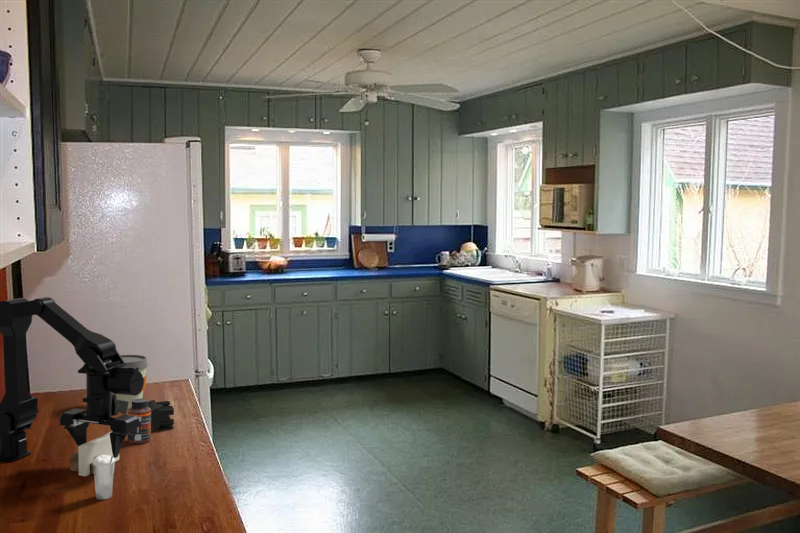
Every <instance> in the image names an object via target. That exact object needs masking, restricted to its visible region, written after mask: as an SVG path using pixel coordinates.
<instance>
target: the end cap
mask: <svg viewBox="0 0 800 533" xmlns="http://www.w3.org/2000/svg"><path fill="white" fill-rule="evenodd" d="M147 403H148V404H147V405H148V407H150V409H151V429H153V430H155V431H157V432H159V431H160V432H163V431H171V430H172V431H173V430H174V424H175V419H174V418H171V417H170V416H174V415H175V408H174V407H173V405H172V404H171V402H170V401H169V400H164V401H156V400H155V399H151V400H149V401H147Z"/></svg>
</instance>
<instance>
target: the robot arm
mask: <svg viewBox="0 0 800 533" xmlns="http://www.w3.org/2000/svg"><path fill="white" fill-rule="evenodd" d="M33 316H38V317H39V318H40V319H41V320H43V321H44V322H45V323H46V325H47V324H48V325H49V326H50V327H51V328H52V329H53V330H55V331H56V332H57V333H58V334H59V335H61V336H62V337H63V338H64V339H65V340H67V341H68V342H69V343H70V344H71V345H72V346H73V348H74V351H75V354H76V356H78V357H79V358H80V360H82V362H83V363H84V364H83V365H82V367H80V368H79V369H78V370H77V373H78V374H82V375H85V377H86V379H85V380H86V381H85V383H86V384H85V386H86V389H85V390H86V392H85V393H86V396H84V397H82V403H85V405H86V409H85V408H72V409H70V410H67V411H64V412H62V413H61V415H60V416H59V425H60V426H64V427H63V429H64V430H67V432H68V433H69V435H70V436H71V438H72V439H73V441H74V442H75V444H76V447H78V446H80V445H82V444H85V443H87V442H88V441H87V438H88V435H87V433H88V432H87V430H88V427H89V425H90V424H92V425H93V424H95V425H101V426H102V425H103V426H109V429H110V430H111V431H110V432H111V433H110V432H108V433H109V434H110V440H111V447H112V453H113V455H114V456H113V457H114V458H116V457H118V455H119V456H120V452H121V450H122V447H123V443H124V441H125V439H126V437H127V436H128V433H129V432H131V431H133V430H134V429H135V428H138V427H139V418H138V417H137V416H134V415H128V409H127V408H128V403H129V402H128V401H122V400H117V399H116V394H123V395H134V396H136V395H138V394H140V392H141V391H142V388H143V385H144V378H143V376H142V374H141V372H139V367H138V366H131V367H129V366H125V365H126V364H125V362H124V360H123V359H122V357H121V356H120V355H121V354H120V353H119V351H118V349H117V344H116V343H115V342H114V341H113V340H111V339H110V338H108V337H106V336H105V335H103V334H100V333H98V332H94V331H92V330H90V329H88V328H87V327H86V326H84V325H83V324H82V323H80V322H79V321H78V320H77V319H76V318H74V317H73V316H72V315H70V313H69V312H67V311H66V310H65V309H63V308H62V307H61V306H60V305H59V304H57V303H56V301H55V299H54V298H52V297H48V296H45V297H40V298H35V299H33V300H28V299H26V298H23V297H19V298H11V299H6V300H0V335H1V336H2V342H3V343H2V345H3V348H2V349H3V350H2V351H3V372H4V374H3V375H4V377H3V378H4V394H3V397H2V398H1V401H0V461H1V462H2V461H3V462H8V463H11V462H14V461H17V460H19V459H22V458H24V457H27V456H28V455H30V454H32V452H31V451H29V450H28V439H27V436H26V435H27V434H26V433H27V432H26V431H27V430H29V429H31V427H32V425H33V422H34V421H35V420H36V419H37V415H38V414H39V412H40V411H39V409H38V402H39V401H38V397H37V396H34V397H33V396H32V395H31V394H30V392H29V389H28V367H27V366H28V362H27V340H26V339H27V337H26V336H27V332H28V330H29V328H30V326H31V324H32V322H33V321H32V320H33ZM109 361H111V363H108V364H106V362H109ZM112 393H114V394H112ZM119 413H121V414H122V415H119ZM117 415H119V416H117ZM113 416H114V417H113ZM115 416H116V417H115ZM25 430H26V431H25ZM112 431H113V432H112Z"/></svg>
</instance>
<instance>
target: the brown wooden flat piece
mask: <svg viewBox="0 0 800 533" xmlns="http://www.w3.org/2000/svg"><path fill="white" fill-rule="evenodd" d="M96 457H98V456H96ZM96 457H94V459H95V458H96ZM69 460H70V467H69V468H70V471H72V472H78V473H79V455H78V452H72V453H70V458H69ZM90 474H92V475H94V472H93V463H91V464H90Z"/></svg>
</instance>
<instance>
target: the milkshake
mask: <svg viewBox="0 0 800 533" xmlns="http://www.w3.org/2000/svg"><path fill="white" fill-rule="evenodd" d="M113 456H114V455H112V456H110V455H100V456H98V457H96V458H95V459H94V460H93V461H92V463H93V472H94V474H93V477H94V479H93V480H94V487H95V488H94V489H95V499H96V500H101V501H102V500H108V499H110V498H112V496H113V487H114V486H113V485H114V484H113V482H114V473H115V464H116V461H115V458H114V457H113Z"/></svg>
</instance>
